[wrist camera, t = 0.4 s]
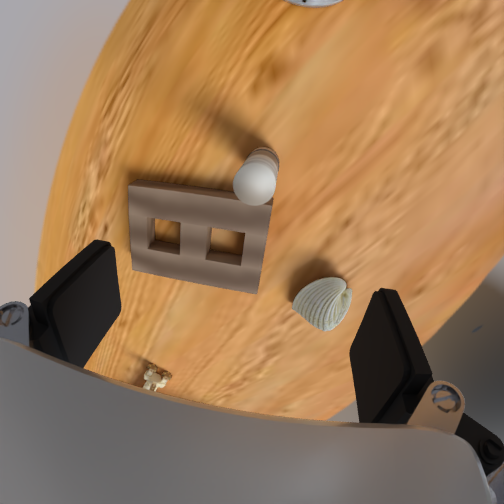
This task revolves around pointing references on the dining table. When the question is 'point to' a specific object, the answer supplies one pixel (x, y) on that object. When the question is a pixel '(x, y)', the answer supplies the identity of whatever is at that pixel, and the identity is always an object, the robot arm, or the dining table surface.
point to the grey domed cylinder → (257, 177)
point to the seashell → (323, 302)
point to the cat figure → (155, 378)
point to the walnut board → (196, 234)
